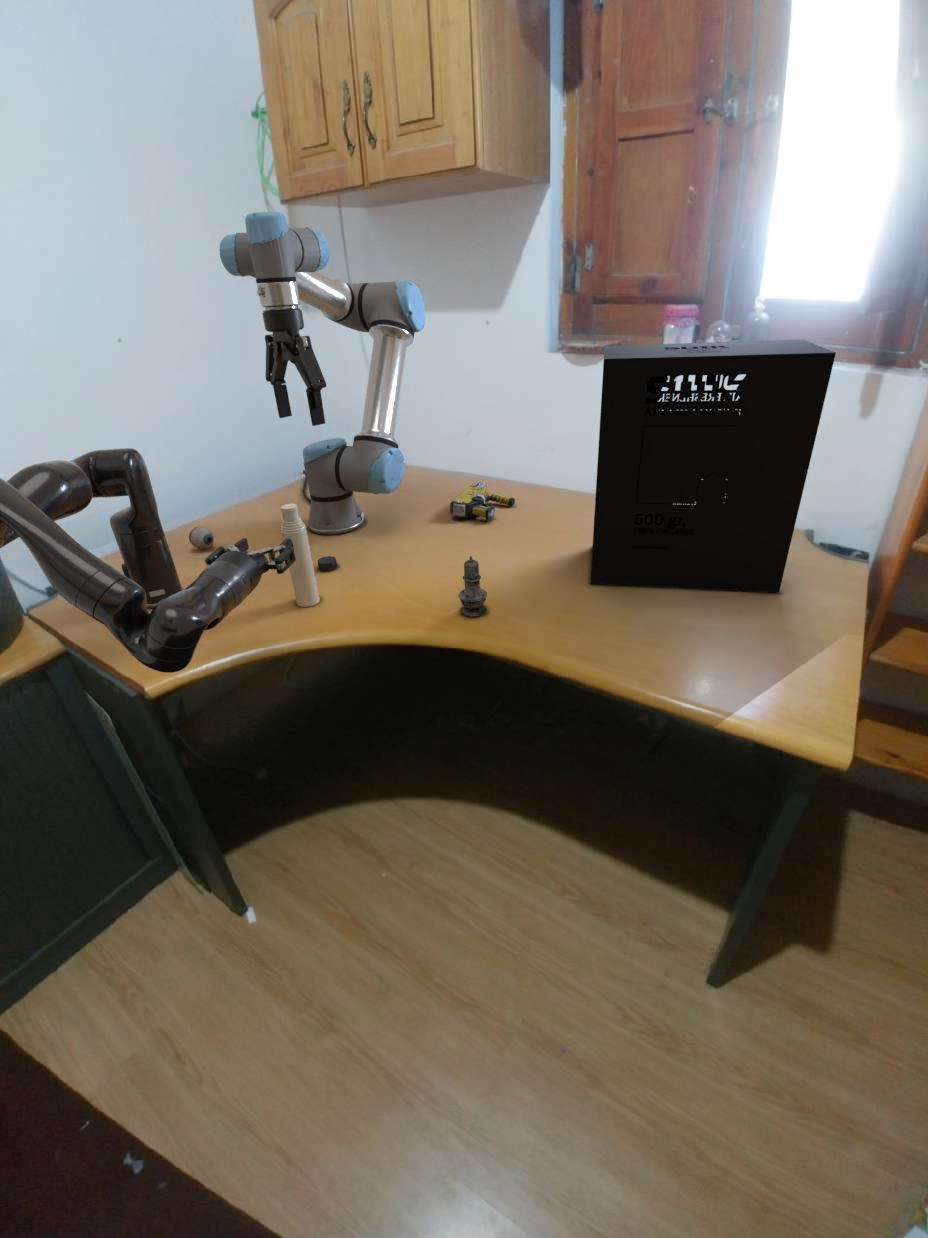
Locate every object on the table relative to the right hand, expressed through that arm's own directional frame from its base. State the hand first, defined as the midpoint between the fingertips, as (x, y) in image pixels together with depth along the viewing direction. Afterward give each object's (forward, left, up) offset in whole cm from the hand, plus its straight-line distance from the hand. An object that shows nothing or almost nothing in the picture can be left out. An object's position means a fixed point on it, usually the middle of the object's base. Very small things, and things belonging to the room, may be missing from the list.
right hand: (301, 420), depth 128 cm
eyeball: (-34, -20, -34) cm, 52 cm away
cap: (0, 0, -33) cm, 33 cm away
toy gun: (-6, +53, -34) cm, 64 cm away
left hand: (+21, -19, -16) cm, 33 cm away
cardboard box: (+55, +59, -34) cm, 88 cm away
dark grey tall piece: (+40, +13, -34) cm, 55 cm away
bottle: (+13, -11, -34) cm, 38 cm away
